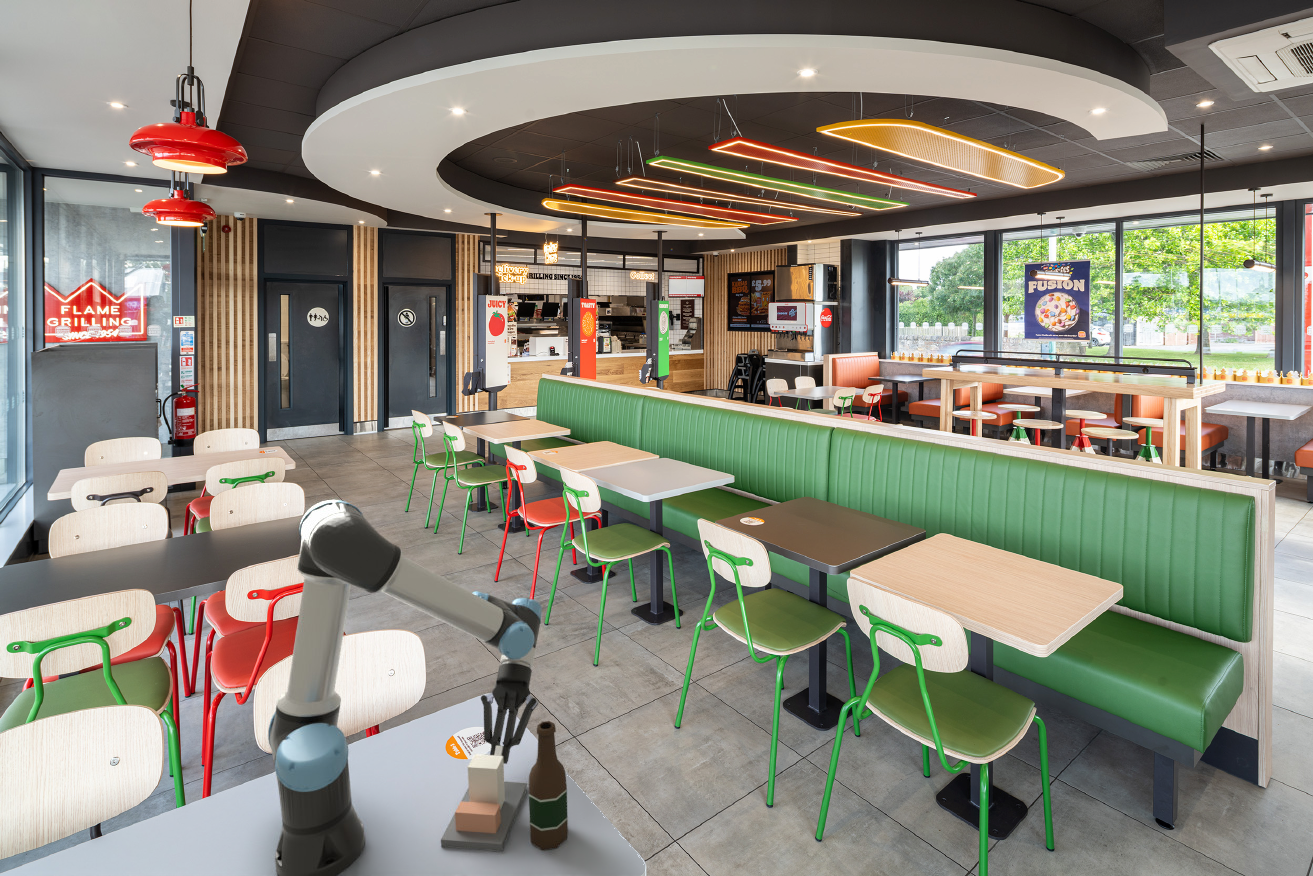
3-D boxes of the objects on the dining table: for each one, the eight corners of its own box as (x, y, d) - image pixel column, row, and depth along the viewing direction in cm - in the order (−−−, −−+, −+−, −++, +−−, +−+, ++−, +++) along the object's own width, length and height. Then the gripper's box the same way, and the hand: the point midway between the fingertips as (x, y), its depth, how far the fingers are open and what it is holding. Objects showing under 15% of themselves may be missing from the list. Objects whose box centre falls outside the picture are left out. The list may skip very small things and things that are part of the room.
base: (441, 846, 128) (440, 839, 127) (473, 785, 144) (472, 779, 144) (502, 851, 127) (501, 844, 126) (527, 789, 143) (526, 783, 143)
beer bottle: (561, 854, 126) (558, 740, 122) (522, 848, 127) (518, 735, 123) (574, 824, 133) (572, 716, 129) (537, 818, 135) (534, 711, 131)
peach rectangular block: (455, 830, 130) (454, 812, 129) (461, 819, 133) (460, 801, 132) (495, 833, 129) (495, 815, 128) (500, 822, 132) (500, 804, 131)
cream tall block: (469, 811, 134) (467, 767, 133) (476, 797, 138) (474, 754, 136) (498, 813, 134) (496, 769, 132) (505, 799, 138) (503, 756, 136)
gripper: (546, 672, 156) (528, 785, 142) (492, 669, 157) (470, 781, 144) (540, 663, 150) (520, 779, 136) (484, 660, 151) (459, 775, 137)
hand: (494, 780), depth 140 cm, fingers closed
